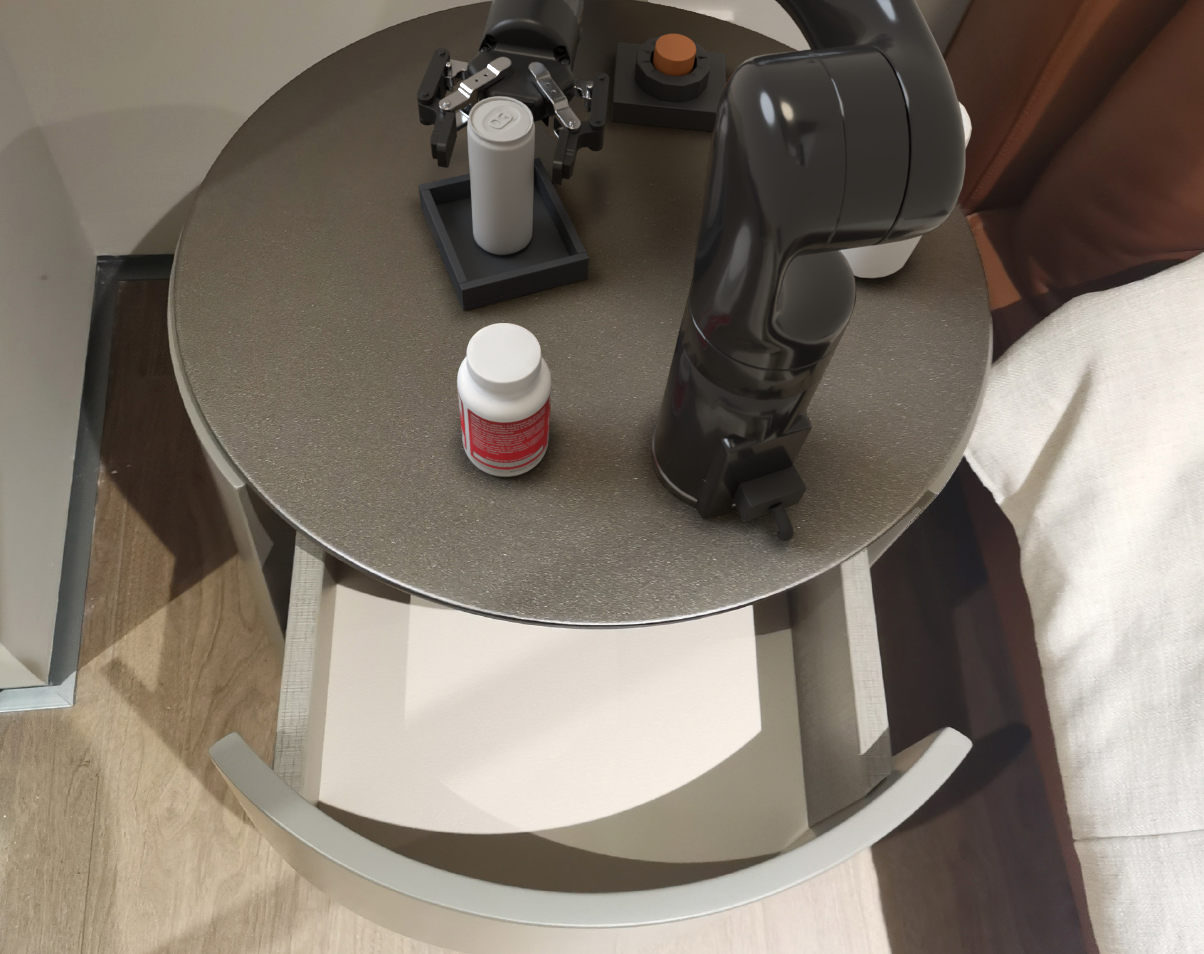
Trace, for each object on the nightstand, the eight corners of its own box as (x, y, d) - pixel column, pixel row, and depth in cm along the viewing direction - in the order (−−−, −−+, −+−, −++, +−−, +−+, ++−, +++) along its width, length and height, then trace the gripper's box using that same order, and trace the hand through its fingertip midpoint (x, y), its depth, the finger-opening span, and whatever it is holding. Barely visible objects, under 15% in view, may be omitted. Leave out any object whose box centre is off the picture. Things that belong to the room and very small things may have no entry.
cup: (788, 252, 82) (837, 115, 69) (843, 198, 85) (899, 59, 73) (873, 308, 79) (940, 177, 67) (926, 250, 83) (998, 116, 70)
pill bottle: (564, 455, 70) (572, 366, 61) (490, 494, 69) (486, 409, 59) (519, 393, 73) (520, 298, 63) (447, 429, 71) (436, 336, 61)
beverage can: (544, 234, 80) (549, 116, 69) (506, 269, 78) (505, 153, 67) (498, 205, 81) (496, 85, 70) (460, 238, 79) (452, 119, 68)
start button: (693, 52, 87) (696, 35, 86) (692, 79, 86) (696, 62, 84) (653, 48, 87) (655, 31, 86) (652, 75, 86) (654, 58, 84)
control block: (721, 73, 92) (729, 36, 88) (721, 133, 88) (730, 96, 84) (615, 62, 91) (619, 24, 88) (611, 121, 87) (615, 84, 84)
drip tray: (587, 278, 79) (589, 257, 76) (463, 311, 76) (461, 290, 74) (539, 179, 83) (539, 157, 81) (420, 206, 81) (418, 184, 79)
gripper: (445, -31, 76) (398, 112, 68) (625, -3, 76) (599, 142, 68) (450, 52, 83) (408, 191, 75) (616, 77, 83) (592, 218, 75)
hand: (499, 167), depth 72 cm, fingers open, 8 cm apart
